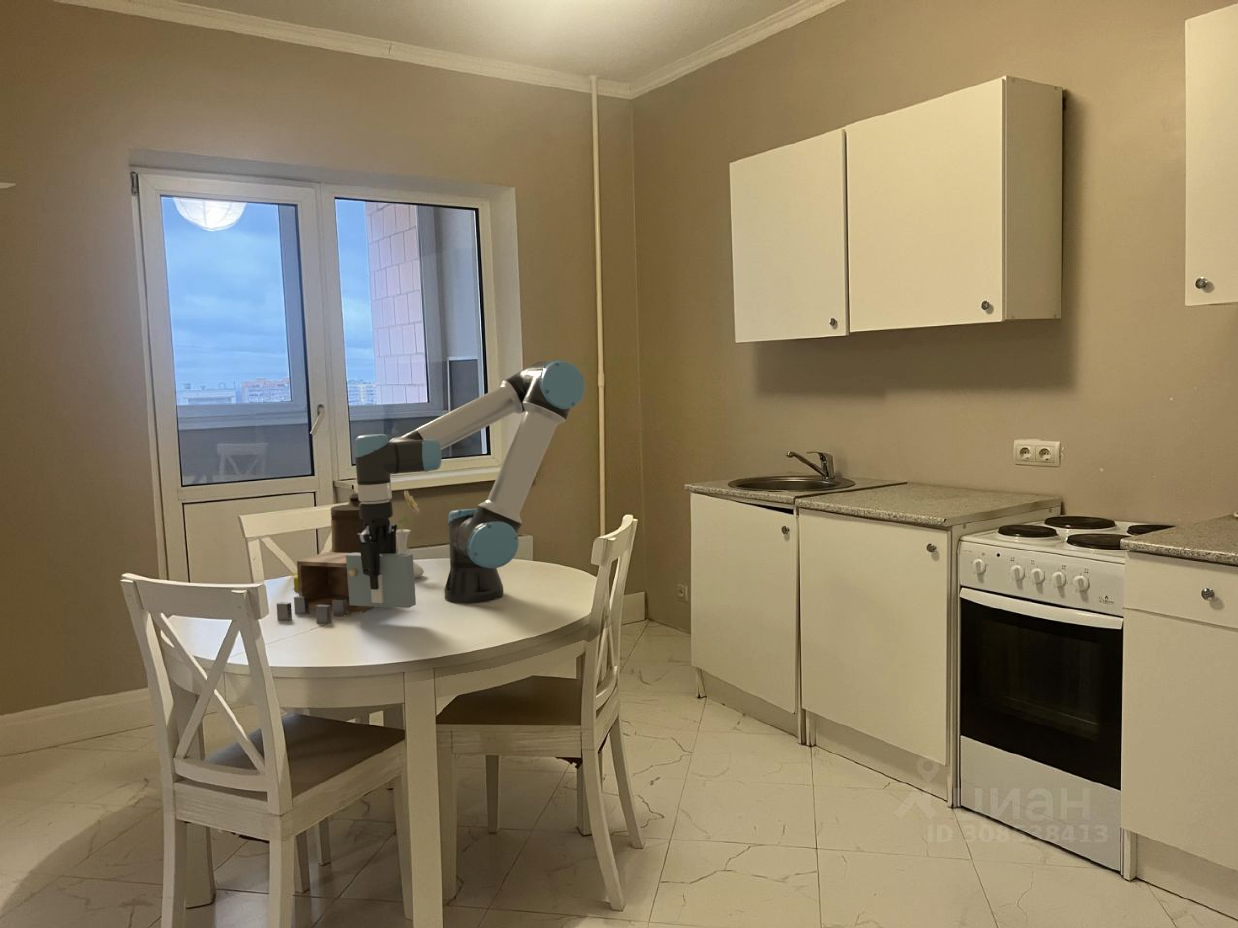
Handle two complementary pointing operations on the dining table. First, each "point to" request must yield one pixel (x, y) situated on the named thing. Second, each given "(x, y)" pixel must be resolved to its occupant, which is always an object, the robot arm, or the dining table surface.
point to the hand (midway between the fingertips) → (382, 600)
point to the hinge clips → (303, 607)
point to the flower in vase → (403, 534)
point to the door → (383, 581)
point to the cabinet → (325, 580)
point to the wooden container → (346, 526)
